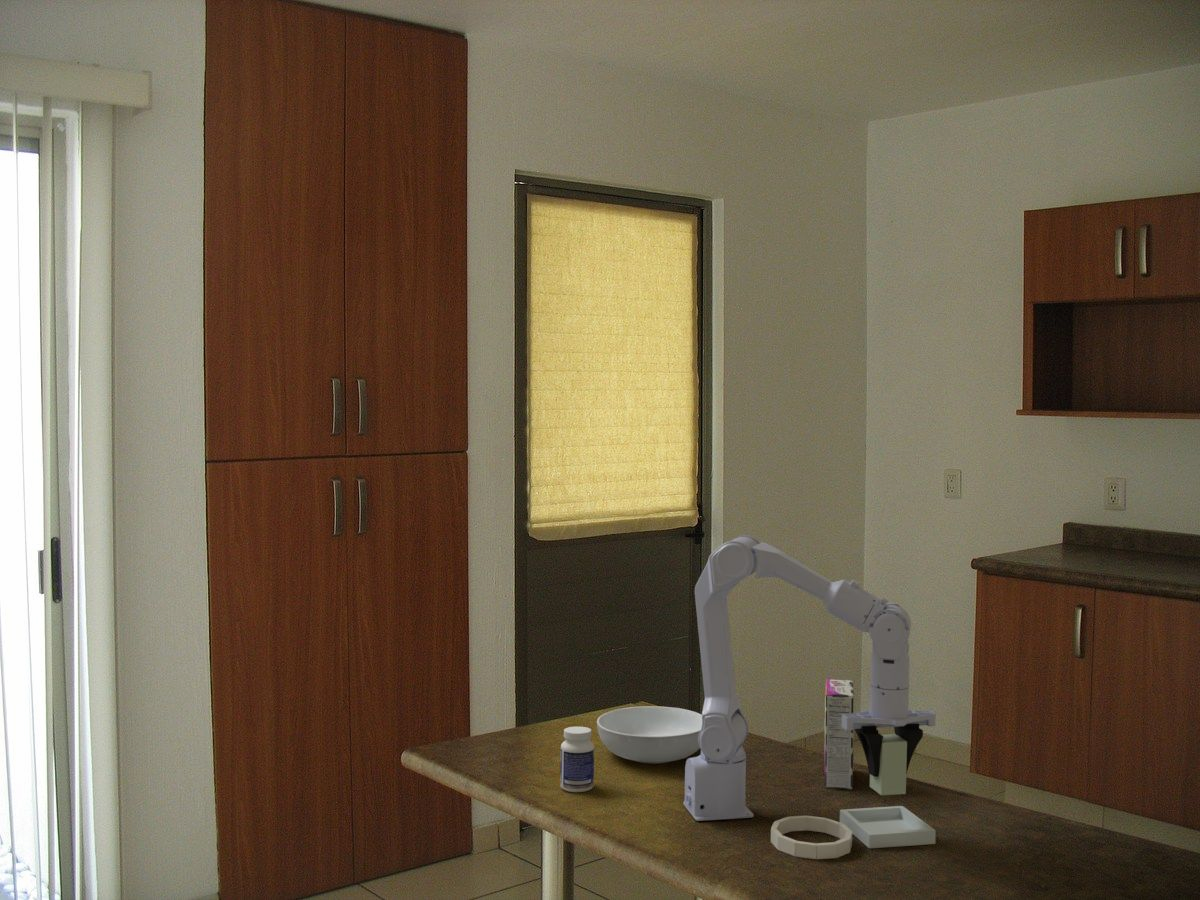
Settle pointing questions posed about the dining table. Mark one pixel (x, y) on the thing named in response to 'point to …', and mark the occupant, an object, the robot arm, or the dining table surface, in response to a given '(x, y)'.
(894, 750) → the peg
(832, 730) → the candy bar box
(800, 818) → the collar
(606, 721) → the serving bowl
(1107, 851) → the dining table surface
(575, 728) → the pill bottle
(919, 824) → the tray
